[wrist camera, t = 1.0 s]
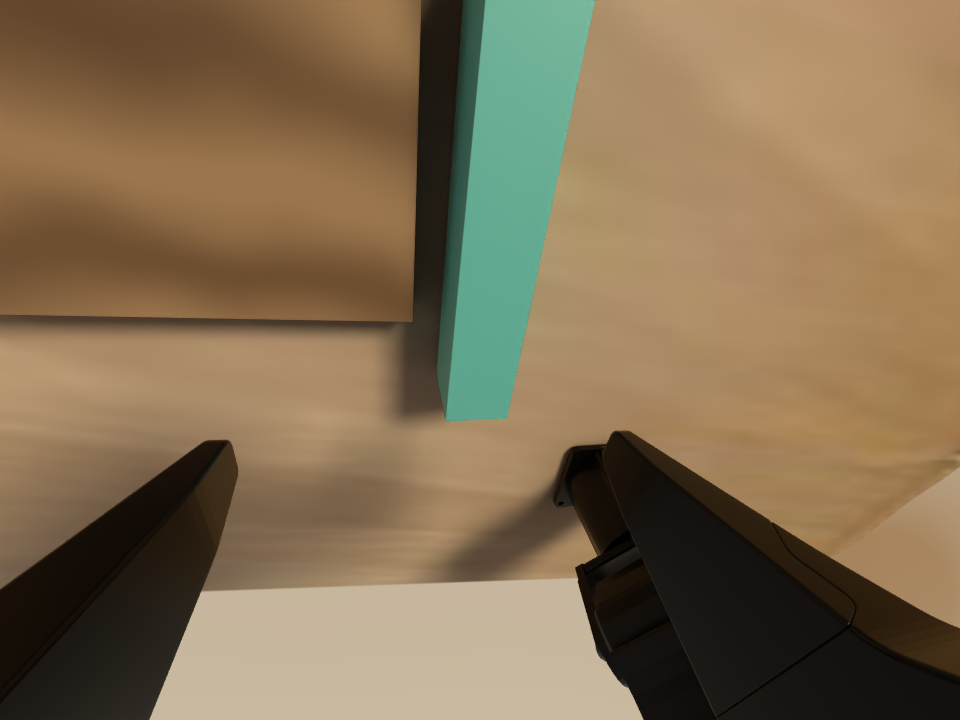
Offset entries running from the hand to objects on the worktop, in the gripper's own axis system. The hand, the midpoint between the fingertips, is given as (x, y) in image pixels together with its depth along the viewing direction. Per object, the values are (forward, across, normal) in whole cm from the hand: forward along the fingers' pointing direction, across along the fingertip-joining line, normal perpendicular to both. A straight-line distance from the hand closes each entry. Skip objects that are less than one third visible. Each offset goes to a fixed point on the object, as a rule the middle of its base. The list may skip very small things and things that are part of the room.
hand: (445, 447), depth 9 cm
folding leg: (+10, -2, -4) cm, 12 cm away
